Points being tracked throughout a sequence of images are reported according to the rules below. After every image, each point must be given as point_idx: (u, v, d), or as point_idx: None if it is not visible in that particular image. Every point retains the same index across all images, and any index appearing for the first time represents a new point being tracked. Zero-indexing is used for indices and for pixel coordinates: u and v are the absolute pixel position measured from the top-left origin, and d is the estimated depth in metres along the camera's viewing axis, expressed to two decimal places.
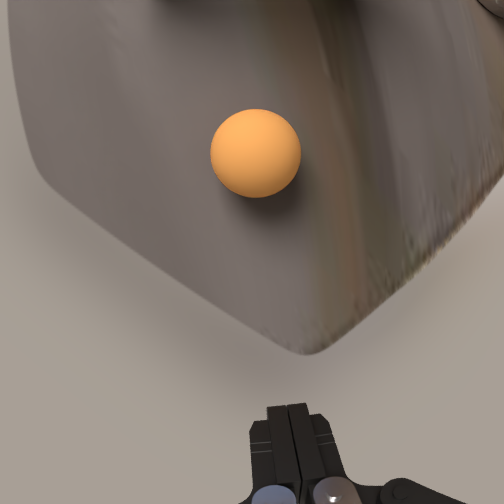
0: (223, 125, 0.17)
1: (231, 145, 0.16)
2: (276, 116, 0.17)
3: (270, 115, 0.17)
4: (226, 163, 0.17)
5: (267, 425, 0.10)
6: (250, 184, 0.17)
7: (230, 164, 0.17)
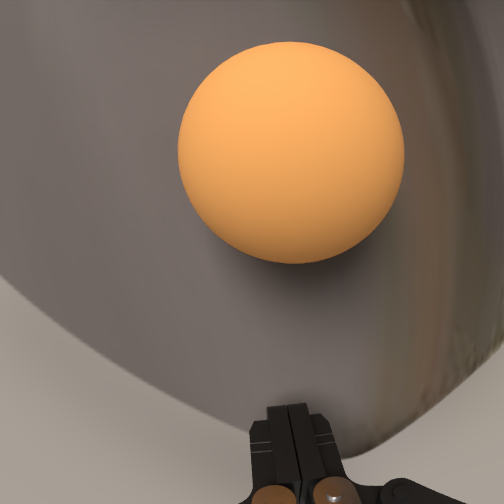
0: (209, 76, 0.06)
1: (231, 126, 0.05)
2: (349, 59, 0.06)
3: (336, 53, 0.06)
4: (216, 181, 0.06)
5: (267, 425, 0.10)
6: (286, 243, 0.06)
7: (228, 184, 0.06)
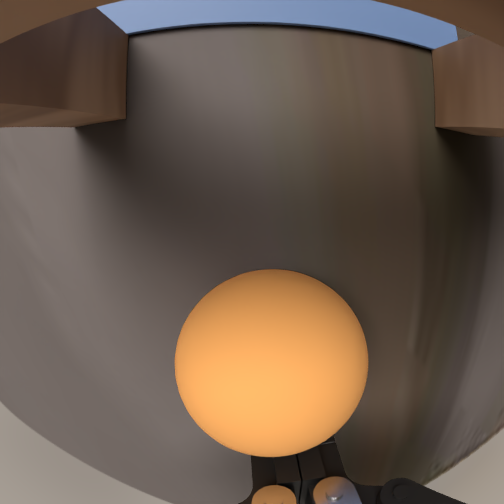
0: None
1: (216, 287, 0.09)
2: None
3: None
4: (196, 315, 0.08)
5: None
6: (237, 349, 0.06)
7: (203, 312, 0.08)
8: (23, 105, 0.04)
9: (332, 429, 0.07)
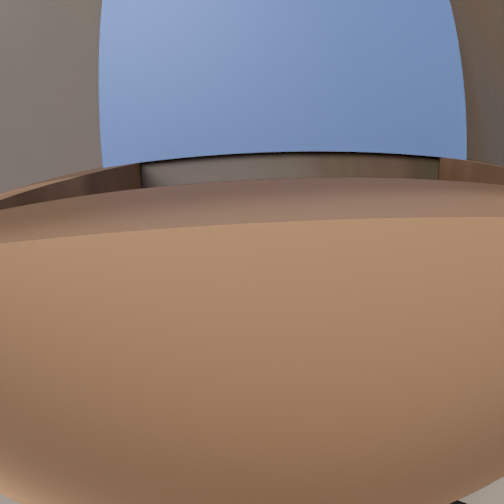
0: None
1: None
2: None
3: None
4: None
5: None
6: None
7: None
8: None
9: None
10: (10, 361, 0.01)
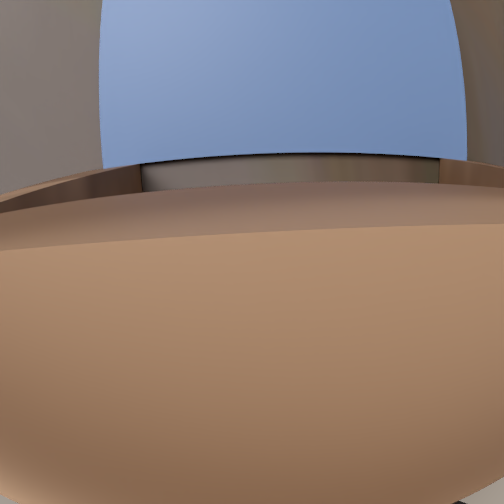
0: None
1: None
2: None
3: None
4: None
5: None
6: None
7: None
8: None
9: None
10: (13, 367, 0.01)
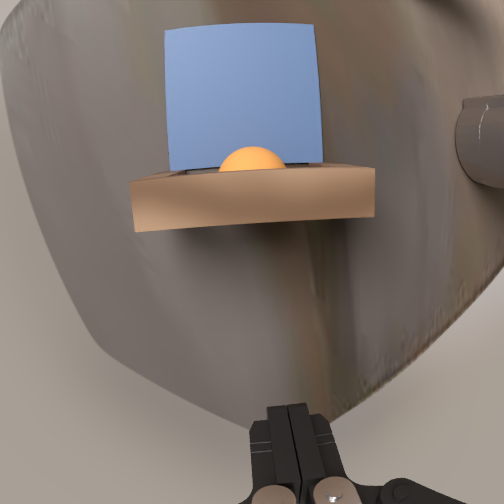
0: None
1: None
2: None
3: None
4: None
5: (267, 425, 0.10)
6: None
7: None
8: None
9: None
10: (201, 184, 0.17)
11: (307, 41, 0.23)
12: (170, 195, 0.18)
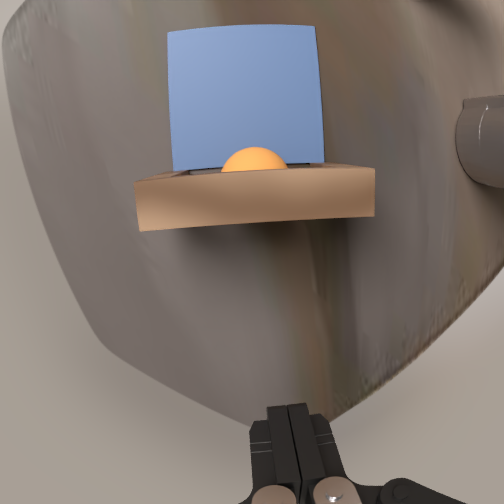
0: None
1: None
2: None
3: None
4: None
5: (267, 425, 0.10)
6: None
7: None
8: None
9: None
10: (204, 184, 0.18)
11: (308, 42, 0.23)
12: (174, 195, 0.18)
